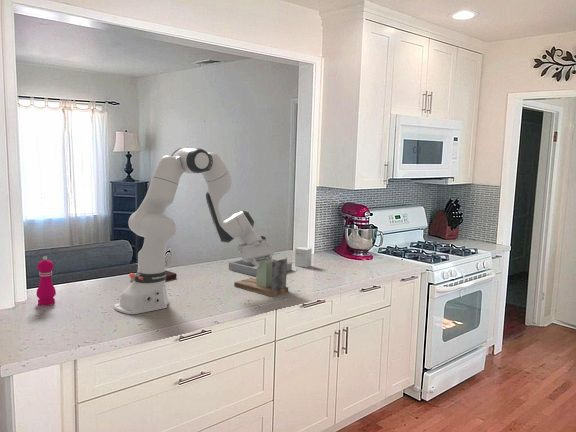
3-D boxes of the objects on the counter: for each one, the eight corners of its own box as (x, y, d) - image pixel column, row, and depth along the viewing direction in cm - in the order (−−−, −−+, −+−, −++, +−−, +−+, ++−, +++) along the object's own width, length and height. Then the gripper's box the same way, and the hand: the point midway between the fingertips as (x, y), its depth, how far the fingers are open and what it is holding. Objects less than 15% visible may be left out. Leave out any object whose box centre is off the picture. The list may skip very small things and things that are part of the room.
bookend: (272, 296, 228) (273, 262, 226) (234, 286, 243) (235, 254, 241) (288, 291, 238) (289, 258, 236) (250, 281, 252) (251, 250, 250)
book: (176, 279, 254) (176, 272, 253) (146, 286, 238) (146, 280, 237) (159, 275, 260) (159, 268, 260) (129, 282, 244) (129, 275, 244)
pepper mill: (43, 307, 202) (42, 259, 199) (33, 303, 206) (31, 256, 203) (59, 303, 208) (58, 256, 205) (49, 299, 212) (48, 253, 209)
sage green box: (265, 287, 235) (266, 262, 234) (256, 285, 239) (256, 260, 237) (271, 285, 239) (272, 261, 237) (262, 283, 242) (263, 259, 241)
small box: (311, 266, 290) (312, 248, 289) (306, 267, 286) (307, 249, 284) (299, 264, 295) (300, 246, 293) (294, 265, 290) (295, 247, 289)
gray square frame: (262, 278, 260) (262, 270, 259) (228, 269, 275) (228, 262, 275) (291, 269, 280) (292, 262, 279) (258, 262, 295) (258, 255, 294)
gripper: (239, 241, 232) (254, 265, 227) (268, 236, 248) (282, 258, 243) (232, 249, 235) (247, 273, 231) (261, 243, 251) (275, 266, 247)
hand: (265, 265), depth 237 cm, fingers open, 8 cm apart
